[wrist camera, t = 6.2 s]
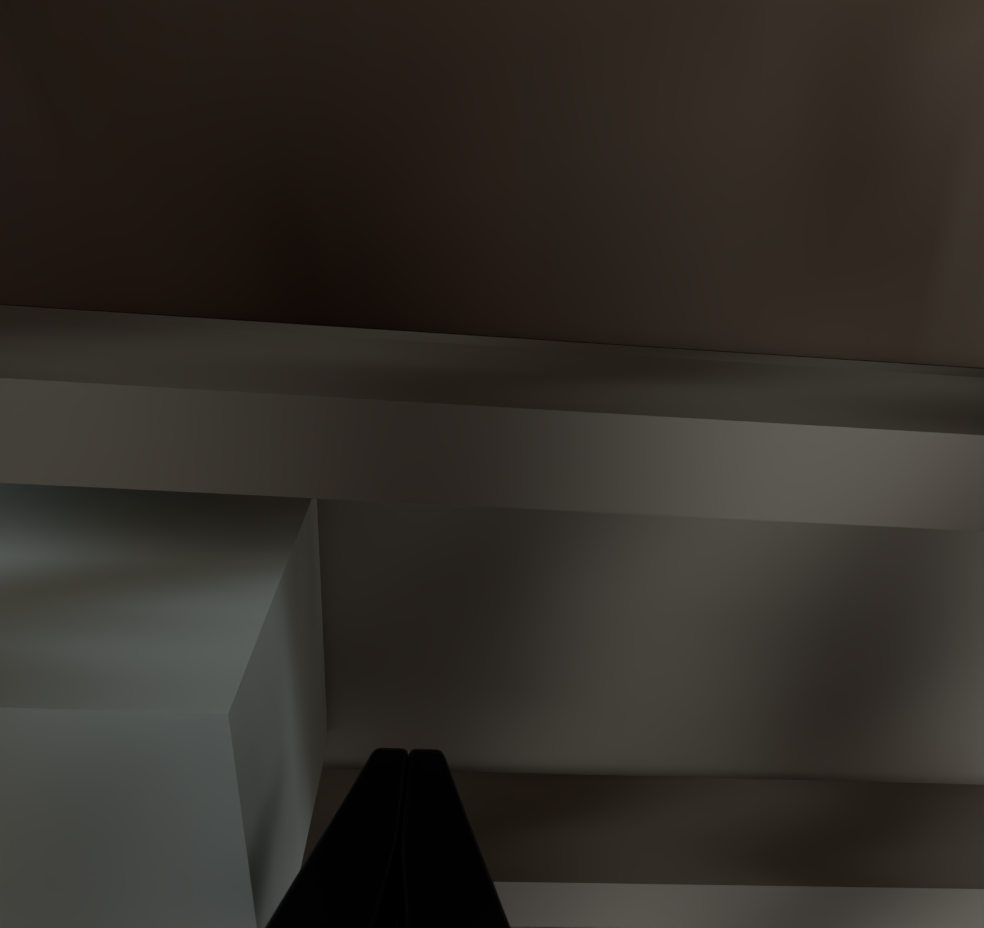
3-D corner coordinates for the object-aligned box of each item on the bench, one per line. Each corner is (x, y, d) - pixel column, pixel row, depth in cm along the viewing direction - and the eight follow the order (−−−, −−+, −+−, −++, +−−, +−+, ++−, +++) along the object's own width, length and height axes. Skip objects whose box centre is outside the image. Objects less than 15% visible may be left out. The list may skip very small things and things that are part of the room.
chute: (1199, 383, 10) (1397, 460, 8) (953, 807, 14) (1039, 932, 12) (-299, 285, 9) (-549, 345, 7) (-78, 784, 13) (-185, 918, 11)
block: (316, 487, 10) (229, 713, 6) (327, 741, 12) (268, 1015, 8) (-65, 467, 9) (-393, 695, 6) (22, 734, 12) (-173, 1013, 8)
